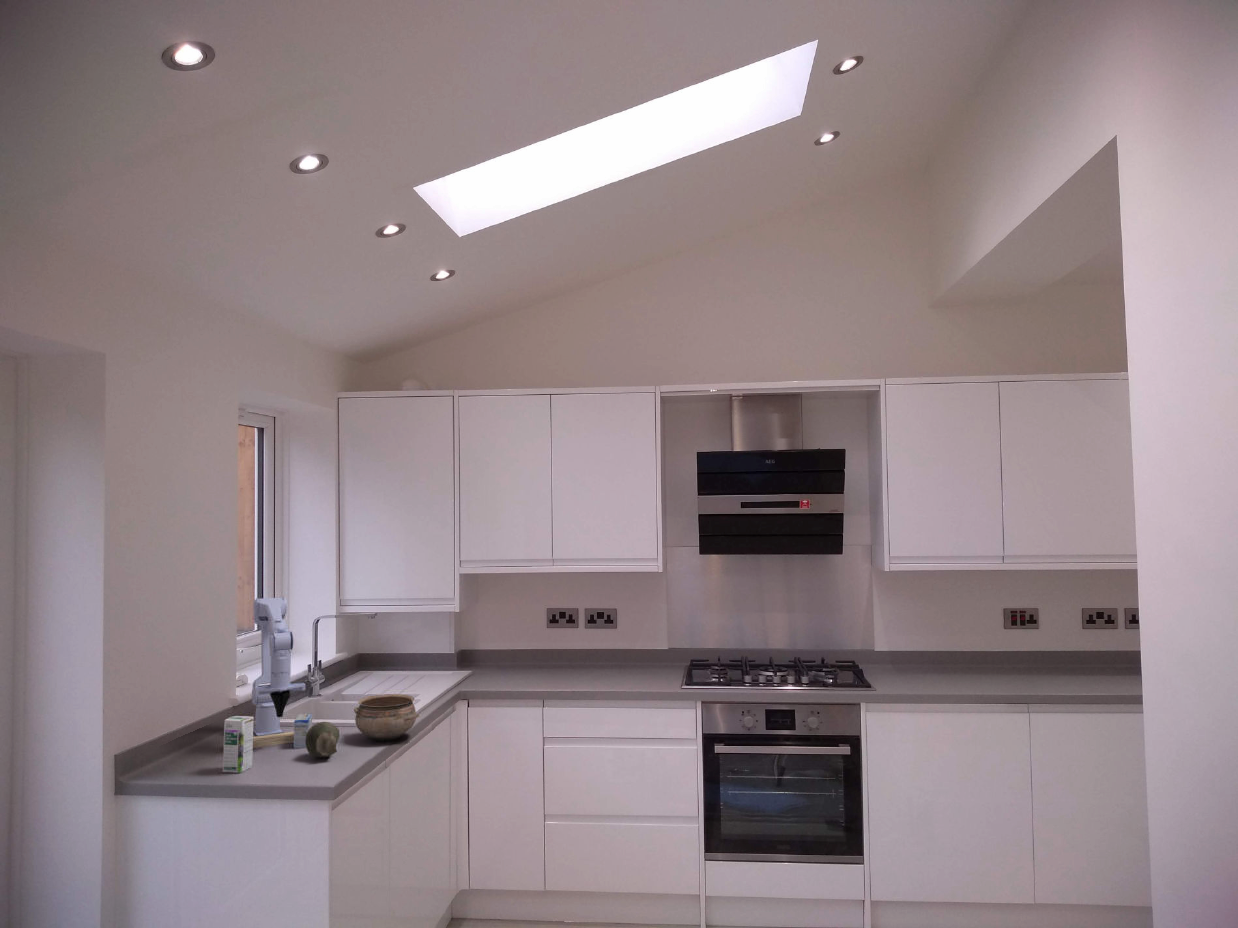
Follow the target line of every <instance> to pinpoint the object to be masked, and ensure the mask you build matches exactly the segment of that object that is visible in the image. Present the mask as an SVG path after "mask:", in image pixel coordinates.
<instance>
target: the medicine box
mask: <svg viewBox="0 0 1238 928" xmlns="http://www.w3.org/2000/svg"><path fill="white" fill-rule="evenodd" d="M293 724H294V725H293V727H294V729H293V732H294V742H293V748H294V749H296V750H297V749H307V748H306V744H305V740H306V735H307V732H308V731H309V729H310V728H311V727H312V726H313V714H311V713H301V714H298V715H297V716H296V718H295V719H294V723H293Z"/></svg>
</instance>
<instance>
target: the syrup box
mask: <svg viewBox="0 0 1238 928" xmlns="http://www.w3.org/2000/svg"><path fill="white" fill-rule="evenodd" d="M254 720H255V719H254V716H244V715H243V716H241V715H235V716H229V718H226V719H224V723H223V724H224V726H223V741H224V748H223V757H222V758H223V759H222V761H223V762H222V773H232V774H233V773H237V774H241V773H244V772H245V771H247V770H249V769H251V768H252V767H253V754H254V753H253V749H254V748H253V737H254V732H253V728H254V722H255V721H254Z"/></svg>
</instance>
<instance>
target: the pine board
mask: <svg viewBox="0 0 1238 928" xmlns="http://www.w3.org/2000/svg"><path fill="white" fill-rule="evenodd" d="M222 742H223V743H222V748H223V749H224V740H223V741H222ZM289 743H294V731H288V732H283V733H277V734H269V735H262V736H253V749H256V748H261V747H262V748H263V747H268V746H269V747H271V746H276V745H282V744H283V745H284V744H289Z"/></svg>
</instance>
